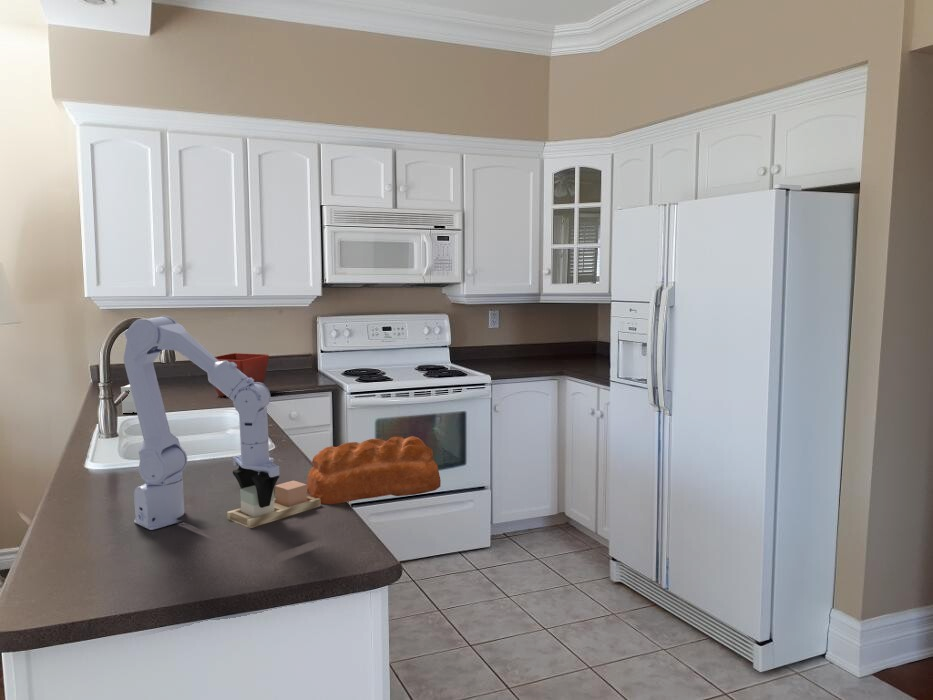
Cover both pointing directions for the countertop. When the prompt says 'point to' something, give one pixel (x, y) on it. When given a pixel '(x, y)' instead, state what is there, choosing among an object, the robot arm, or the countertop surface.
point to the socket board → (272, 513)
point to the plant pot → (247, 365)
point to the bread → (373, 470)
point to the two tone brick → (254, 502)
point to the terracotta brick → (290, 493)
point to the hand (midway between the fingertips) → (257, 503)
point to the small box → (128, 401)
